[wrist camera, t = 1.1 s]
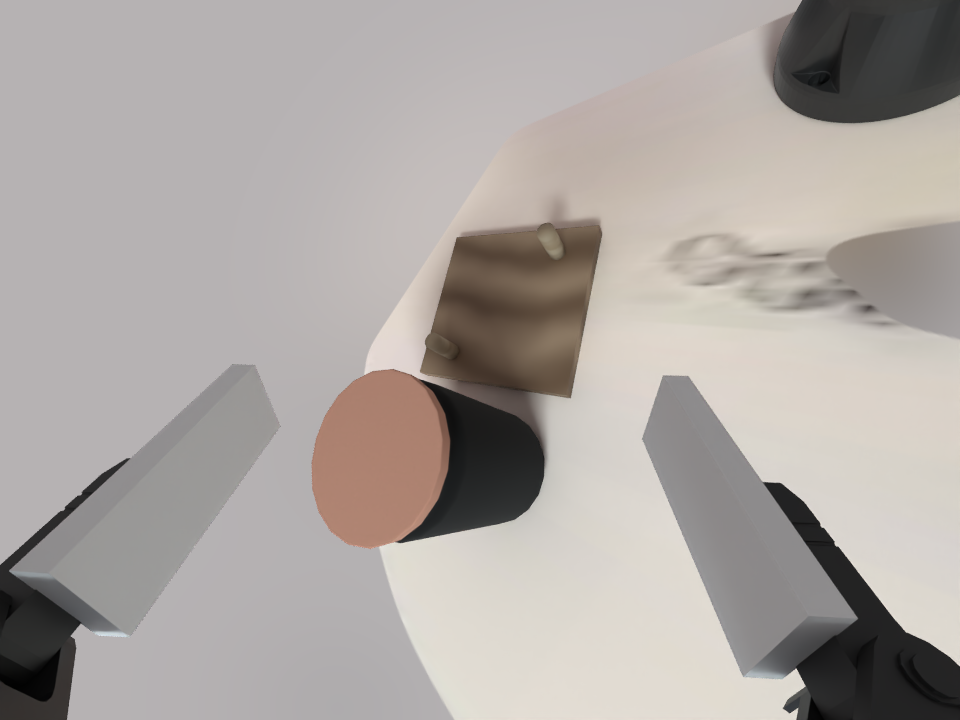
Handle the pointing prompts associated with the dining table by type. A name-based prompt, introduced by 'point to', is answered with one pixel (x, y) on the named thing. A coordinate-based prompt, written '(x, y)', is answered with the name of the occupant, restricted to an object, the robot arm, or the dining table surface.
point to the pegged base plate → (515, 309)
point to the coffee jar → (419, 462)
